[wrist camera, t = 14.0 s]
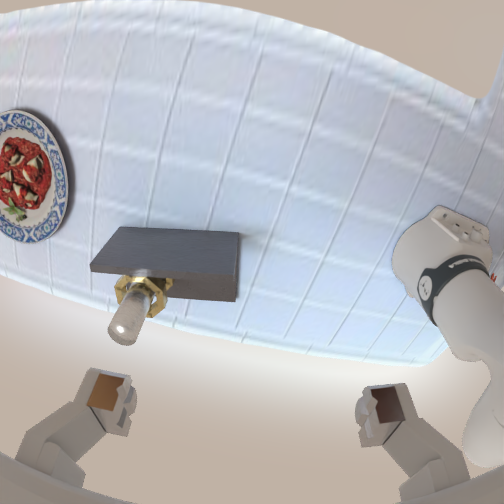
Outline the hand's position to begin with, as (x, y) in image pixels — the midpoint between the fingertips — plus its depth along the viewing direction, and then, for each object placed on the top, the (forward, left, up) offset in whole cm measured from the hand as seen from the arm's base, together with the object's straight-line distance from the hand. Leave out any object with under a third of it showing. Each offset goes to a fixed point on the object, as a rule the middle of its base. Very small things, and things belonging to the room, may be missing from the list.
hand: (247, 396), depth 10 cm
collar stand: (+12, +20, -39) cm, 45 cm away
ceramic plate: (+43, +4, -39) cm, 58 cm away
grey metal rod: (+16, +20, -38) cm, 45 cm away
